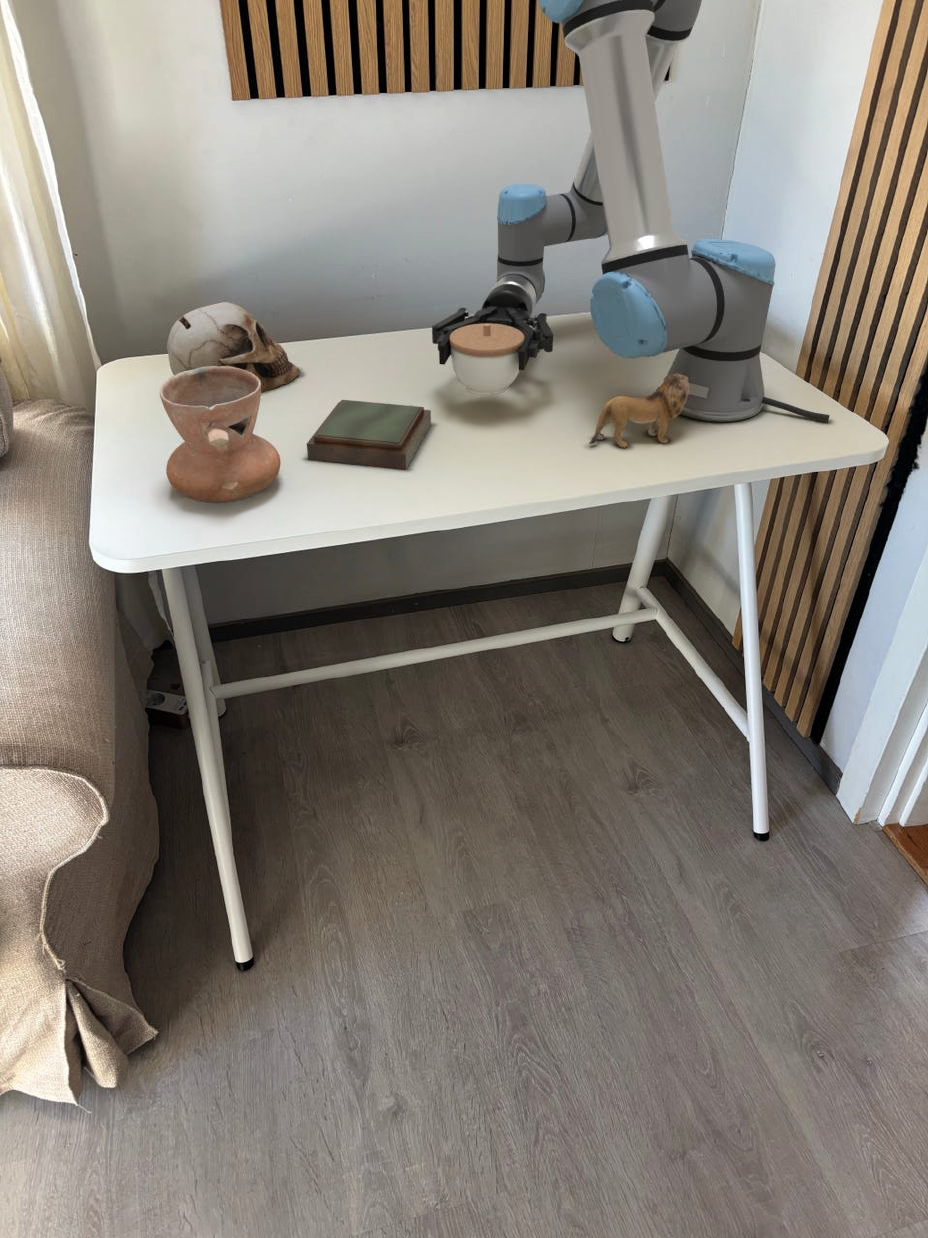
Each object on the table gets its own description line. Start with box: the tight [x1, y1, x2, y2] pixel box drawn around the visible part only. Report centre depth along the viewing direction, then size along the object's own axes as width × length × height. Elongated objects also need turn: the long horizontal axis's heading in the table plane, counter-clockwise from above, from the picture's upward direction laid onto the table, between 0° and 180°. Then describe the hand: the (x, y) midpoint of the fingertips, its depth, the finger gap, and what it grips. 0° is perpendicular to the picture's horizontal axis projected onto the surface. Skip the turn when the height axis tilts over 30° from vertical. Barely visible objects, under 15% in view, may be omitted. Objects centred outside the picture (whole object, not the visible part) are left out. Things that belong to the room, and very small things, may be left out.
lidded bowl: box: [450, 323, 524, 396], centre depth 139 cm, size 11×11×9 cm
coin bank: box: [166, 301, 301, 392], centre depth 150 cm, size 16×17×13 cm
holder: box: [306, 399, 432, 470], centre depth 136 cm, size 14×14×3 cm
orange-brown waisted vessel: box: [159, 366, 282, 504], centre depth 123 cm, size 18×14×14 cm
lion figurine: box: [588, 373, 690, 448], centre depth 134 cm, size 15×5×9 cm, turn 110°
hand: (481, 358), depth 135 cm, fingers closed on lidded bowl, 11 cm apart
